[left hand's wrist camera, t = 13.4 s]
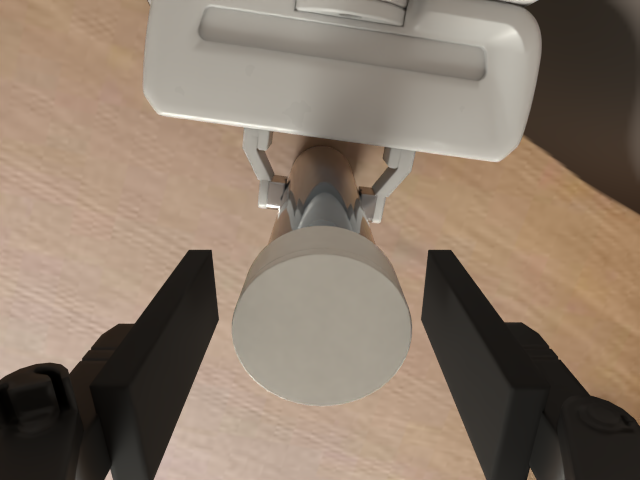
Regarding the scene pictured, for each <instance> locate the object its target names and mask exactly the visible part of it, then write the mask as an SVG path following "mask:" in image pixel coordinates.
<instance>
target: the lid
mask: <svg viewBox="0 0 640 480" xmlns="http://www.w3.org/2000/svg"><path fill="white" fill-rule="evenodd" d="M232 338H233V344H234V347H235V351H236V354H237V356H238V358H239V360H240V362H241V364H242V365H243V367H244V368H245V370H246V371H247V373H248V374H249V375H250V376H251V377H252V378H253V379H254V380H255V381H256V382H257V383H258V384H259V385H260V386H262V387H263V388H265V389H266V390H267V391H269V392H271V393H273V394H274V395H276V396H278V397H281V398H283V399H285V400H288V401H291V402H295V403H298V404H304V405H311V406H333V405H341V404H345V403H349V402H353V401H356V400H358V399H361V398H363V397H365V396H367V395H370V394H372V393H373V392H375V391H376V390H378V389H379V388H381V387H382V386H383V385H384V384H386V383H387V382H388V381H389V380H390V379H391V378H392V377H393V376H394V375H395V374H396V372H397V371H398V370H399V368H400V367H401V365H402V363H403V362H404V360H405V358H406V356H407V353H408V350H409V347H410V343H411V338H412V322H411V315H410V312H409V308H408V305H407V302H406V300H405V297H404V294H403V292H402V289H401V286H400V284H399V281H398V278H397V276H396V273H395V271H394V269H393V266H392V264H391V263H390V261H389V260H388V258H387V257H386V255H385V254H384V253H383V252H382V251H381V249H379V248H378V247H377V246H376V245H375V244H374V243H373V242H371V241H370V240H368V239H367V238H365V237H363V236H361V235H359V234H357V233H355V232H353V231H350V230H347V229H343V228H339V227H333V226H311V227H305V228H300V229H297V230H293V231H291V232H289V233H286V234H284V235H282V236H280V237H279V238H277V239H275V240H274V241H272V242H271V243H270V244H269V245H267V246H266V247H265V248H264V249H263V250H262V251H261V252H260V253H259V255H258V256H257V258H256V259H255V260H254V262H253V264H252V266H251V268H250V270H249V272H248V275H247V278H246V280H245V283H244V286H243V288H242V291H241V294H240V297H239V299H238V302H237V305H236V308H235V311H234V315H233V320H232Z"/></svg>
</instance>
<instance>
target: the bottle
mask: <svg viewBox="0 0 640 480" xmlns="http://www.w3.org/2000/svg"><path fill="white" fill-rule="evenodd" d="M311 226H333V227H339V228H343V229H347V230H350V231H353V232H355V233H357V234H359V235H361V236H363V237H365V238H367V239H368V240H370V241H371V242H373V243H374V244H375V242H374V238H373V235H372V232H371V229H370V226H369V223H368V220H367V217H366V214H365V210H364V207H363V204H362V201H361V198H360V195H359V192H358V189H357V186H356V182H355V179H354V176H353V173H352V170H351V167H350V164H349V162H348V160H347V159H346V158H345V156H344V155H343V154H342V153H340V152H339V151H338V150H336V149H334V148H331V147H327V146H315V147H312V148H309V149H307V150H305V151H304V152H302V153H301V154H300V155H299V156H298V157H297V158H296V160H295V162H294V164H293V166H292V169H291V172H290V175H289V179H288V182H287V185H286V188H285V191H284V195H283V198H282V201H281V204H280V207H279V210H278V214H277V217H276V220H275V223H274V226H273V230H272V233H271V236H270V239H269V242H268V245H269V244H270V243H271V242H272V241H274V240H275V239H277V238H279V237H280V236H282V235H284V234H286V233H289V232H291V231H293V230H297V229H300V228H305V227H311Z"/></svg>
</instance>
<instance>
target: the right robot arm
mask: <svg viewBox="0 0 640 480" xmlns="http://www.w3.org/2000/svg"><path fill="white" fill-rule="evenodd" d="M147 1H148V3H149V5H150V11H149V17H148V24H147V32H146V40H145V50H144V65H143V93H144V95H145V97H146V99H147V100H148V102H149V103H150V105H151V106H152V107H153V109H154V110H155V111H156V113H157V114H159V115H161V116H166V117H173V118H181V119H188V120H195V121H202V122H209V123H217V124H224V125H231V126H238V127H244V136H243V150H244V152H245V154H246V156H247V158H248V160H249V162H250V164H251V166H252V168H253V170H254V172H255V174H256V176H257V178H258V180H260V188H259V200H258V207H259V208H264V209H274V210H279V207H280V204H281V201H282V198H283V195H284V191H285V188H286V185H287V177H286V176H279V175H274V172H273V169H272V167H271V165H270V162H269V160H268V158H267V156H266V153H265V151H266V150H267V149H268V148H269V146H270V145H271V144H272V136H273V131H274V132H282V133H289V134H296V135H303V136H310V137H318V138H325V139H332V140H339V141H346V142H354V143H361V144H368V145H375V146H382V147H385V149H384V154H383V160H384V161H385V162H386V164H387V165H388V168H387V169H386V170H385V171H384V173H383V174H382V175H381V176H380V178H379V179H378V180H377V181H376V182H375V184H374V185H373V186H372V188H369V187H360V186H359V189H358V192H359V195H360V198H361V201H362V204H363V207H364V210H365V214H366V217H367V220H368V222H372V223H380V222H381V219H382V215H383V210H384V205H385V200H386V197H389V195H390V194H391V193H392V192H393V191H394V190H395V189H396V188H397V186H398V185H399V184H400V183H401V182H402V181H403V180H404V179H405V178H406V176H407V175H408V174H409V173H410V172H411V170H412V165H413V161H414V156H415V152H416V151H418V152H426V153H433V154H440V155H447V156H455V157H462V158H469V159H476V160H483V161H491V162H499V161H501V160H503V159H504V158H505V157H506V156H508V155H509V154H510V153H511V152H512V151H513V150H514V149H516V148H517V146H518V145H519V143H520V141H521V139H522V136H523V133H524V130H525V127H526V123H527V120H528V116H529V112H530V109H531V104H532V100H533V96H534V91H535V86H536V82H537V76H538V71H539V65H540V59H541V49H542V41H541V33H540V28H539V25H538V23H537V21H536V19H535V18H534V17H533V15H532V14H531V13H530V12H529V11H527V10H526V9H524V8H523V7H525V6H528V5H530V4H531V3H533V2H535V1H537V0H147Z"/></svg>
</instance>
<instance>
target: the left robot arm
mask: <svg viewBox="0 0 640 480" xmlns="http://www.w3.org/2000/svg"><path fill="white" fill-rule="evenodd" d="M218 320H219V316H218V307H217V297H216V287H215V278H214V268H213V259H212V250H189V251H188V252H187V253H186V255H185V256H184V257H183V259H182V260H181V262H180V263H179V264H178V266H177V267H176V268H175V270H174V271H173V272H172V274H171V275H170V277H169V278H168V279H167V281H166V282H165V283H164V285H163V286H162V287H161V289H160V290H159V291H158V293H157V294H156V296H155V297H154V298H153V300H152V301H151V302H150V304H149V305H148V306H147V308H146V309H145V311H144V312H143V313H142V315H141V316H140V317H139V319H138V320H137V321H136V323H135V324H118V325H116V326H114V327H113V328H111V329H110V330H108V331H107V332H105V333H104V334H102V335H101V336H100V338H99V339H98V340H97V341H96V342H95V344H94V345H93V346H92V347H91V350H89V351H88V352H87V353H86V355H85V356H84V357H83V358H82V361H80V362H79V363H78V364H77V365H76V367H75V368H74V369H73V370H72V371H71V373H70V374H69V372H68V369H67V368H65V367H64V366H63V365H61V364H55V363H42V364H35V365H32V366H28V367H25V368H21V369H19V370H17V371H15V372H13V373H11V374H9V375H7V376H5V377H4V378H2V379H1V380H0V480H104V479H105V477H106V476H107V474H108V472H109V470H110V469H111V473H112V477H113V480H154V477H155V475H156V472H157V470H158V468H159V465H160V463H161V460H162V458H163V455H164V453H165V450H166V448H167V445H168V443H169V441H170V438H171V436H172V433H173V431H174V428H175V426H176V423H177V421H178V419H179V416H180V414H181V411H182V409H183V406H184V404H185V401H186V399H187V396H188V394H189V392H190V389H191V387H192V384H193V382H194V379H195V377H196V374H197V372H198V369H199V367H200V365H201V362H202V360H203V357H204V355H205V352H206V350H207V347H208V345H209V343H210V340H211V338H212V335H213V333H214V330H215V328H216V325H217V323H218ZM421 320H422V323H423V325H424V328H425V330H426V333H427V335H428V338H429V340H430V343H431V345H432V347H433V350H434V352H435V355H436V357H437V360H438V362H439V365H440V367H441V369H442V372H443V374H444V377H445V379H446V382H447V384H448V387H449V389H450V392H451V394H452V396H453V399H454V401H455V404H456V406H457V409H458V411H459V414H460V416H461V419H462V421H463V423H464V426H465V428H466V431H467V433H468V436H469V438H470V441H471V443H472V445H473V448H474V450H475V453H476V455H477V458H478V460H479V463H480V465H481V468H482V470H483V472H484V475H485V477H486V480H527V477H528V473H529V469H530V468H531V470H532V472H533V473H534V475H535V477H536V479H537V480H640V426H639V425H638V423H637V422H636V420H635V419H634V418H633V417H632V416H631V415H629V414H628V413H627V412H626V411H625V410H623V409H622V408H620V407H618V406H616V405H614V404H613V403H611V402H609V401H606V400H603V399H600V398H597V397H594V396H590V395H589V393H588V392H587V391H586V390H585V389H584V387H583V386H582V385H581V384H580V383H579V381H578V380H577V379H576V378H575V377H574V375H573V374H572V373H571V372H570V371H569V370H568V368H567V367H566V366H565V365H564V364H563V362H562V361H561V360H558V356H557V355H556V354H555V353H554V352H553V350H552V349H549V346H548V344H547V343H546V342H545V341H544V340H543V338H542V337H541V336H540V335H539V334H538V333H537V332H535V331H534V330H532V329H531V328H529V327H528V326H526V325H525V324H523V323H522V322H504V321H503V320H502V319H501V317H500V316H499V315H498V313H497V312H496V311H495V309H494V308H493V306H492V305H491V304H490V302H489V301H488V300H487V298H486V297H485V296H484V294H483V293H482V291H481V290H480V289H479V287H478V286H477V285H476V283H475V282H474V281H473V279H472V278H471V277H470V275H469V274H468V272H467V271H466V270H465V268H464V267H463V266H462V264H461V263H460V262H459V260H458V259H457V257H456V256H455V255H454V253H453V252H452V251H451V250H428V259H427V268H426V278H425V287H424V297H423V307H422V316H421Z"/></svg>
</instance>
